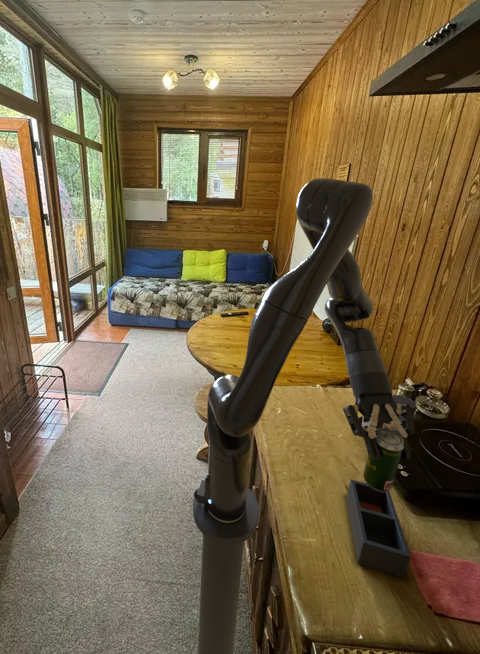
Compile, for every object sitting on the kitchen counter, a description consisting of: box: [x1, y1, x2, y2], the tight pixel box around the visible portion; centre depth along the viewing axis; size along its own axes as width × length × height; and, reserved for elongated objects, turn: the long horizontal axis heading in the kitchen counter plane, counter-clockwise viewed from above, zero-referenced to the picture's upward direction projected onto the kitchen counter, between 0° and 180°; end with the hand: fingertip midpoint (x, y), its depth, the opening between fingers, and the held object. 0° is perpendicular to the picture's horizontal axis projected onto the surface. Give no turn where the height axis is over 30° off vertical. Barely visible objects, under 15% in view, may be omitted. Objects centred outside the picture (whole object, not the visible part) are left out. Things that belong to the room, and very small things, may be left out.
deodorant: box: [382, 394, 417, 430], centre depth 87 cm, size 6×6×15 cm
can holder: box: [345, 479, 412, 578], centre depth 64 cm, size 8×15×6 cm, turn 162°
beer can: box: [362, 427, 404, 492], centre depth 63 cm, size 5×5×12 cm
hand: (391, 458), depth 61 cm, fingers closed on beer can, 5 cm apart
